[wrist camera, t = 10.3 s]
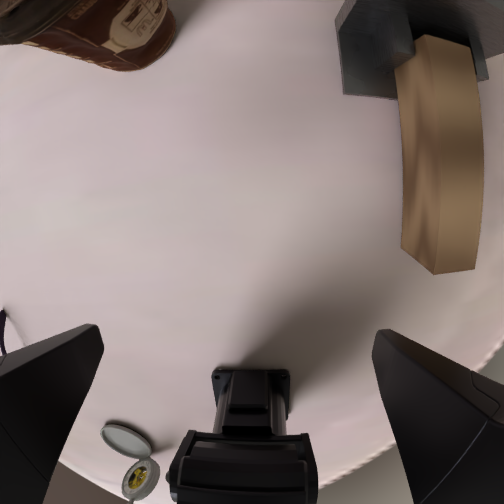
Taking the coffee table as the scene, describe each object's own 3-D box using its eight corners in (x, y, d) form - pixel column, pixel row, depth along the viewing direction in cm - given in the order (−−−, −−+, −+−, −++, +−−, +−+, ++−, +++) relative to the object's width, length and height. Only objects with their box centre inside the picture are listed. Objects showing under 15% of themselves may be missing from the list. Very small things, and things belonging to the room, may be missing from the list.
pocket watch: (102, 413, 27) (68, 476, 17) (170, 441, 27) (149, 511, 17) (104, 445, 29) (78, 499, 19) (162, 468, 29) (145, 526, 20)
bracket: (477, 117, 16) (562, 112, 7) (343, 94, 17) (403, 46, 8) (467, 52, 14) (540, 24, 5) (334, 20, 15) (375, -55, 6)
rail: (438, 244, 19) (474, 269, 15) (400, 247, 19) (433, 274, 15) (431, 63, 15) (469, 47, 10) (391, 55, 15) (425, 34, 10)
